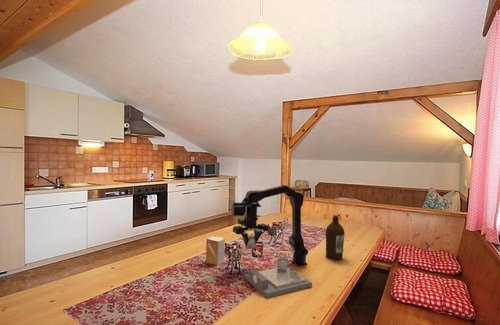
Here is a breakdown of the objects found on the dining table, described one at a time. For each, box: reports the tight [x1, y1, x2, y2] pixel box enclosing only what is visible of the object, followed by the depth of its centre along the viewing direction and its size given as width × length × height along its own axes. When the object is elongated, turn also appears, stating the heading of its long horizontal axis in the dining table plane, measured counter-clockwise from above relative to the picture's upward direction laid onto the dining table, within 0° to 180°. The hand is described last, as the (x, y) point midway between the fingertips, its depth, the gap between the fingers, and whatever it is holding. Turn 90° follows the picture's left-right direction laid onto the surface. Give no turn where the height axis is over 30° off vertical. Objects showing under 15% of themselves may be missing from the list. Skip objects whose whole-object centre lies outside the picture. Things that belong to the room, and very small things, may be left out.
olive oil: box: [325, 214, 346, 261], centre depth 160 cm, size 11×11×25 cm
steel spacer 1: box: [245, 235, 256, 250], centre depth 141 cm, size 5×5×5 cm
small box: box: [205, 235, 226, 266], centre depth 147 cm, size 8×6×13 cm
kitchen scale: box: [244, 266, 313, 299], centre depth 125 cm, size 24×20×6 cm
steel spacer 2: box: [276, 257, 288, 272], centre depth 133 cm, size 5×5×5 cm
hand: (250, 245), depth 141 cm, fingers closed on steel spacer 1, 5 cm apart
